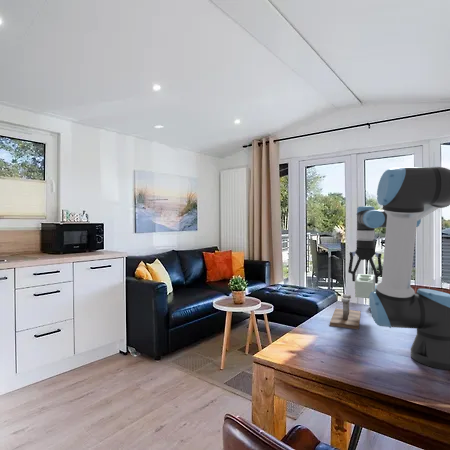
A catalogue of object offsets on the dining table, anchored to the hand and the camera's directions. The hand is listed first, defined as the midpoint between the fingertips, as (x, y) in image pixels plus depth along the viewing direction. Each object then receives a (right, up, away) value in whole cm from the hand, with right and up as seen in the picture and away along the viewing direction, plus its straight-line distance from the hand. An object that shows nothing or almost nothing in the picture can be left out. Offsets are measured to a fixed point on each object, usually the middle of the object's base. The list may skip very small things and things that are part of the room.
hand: (364, 289), depth 149 cm
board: (-7, -15, +4) cm, 17 cm away
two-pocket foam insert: (0, -2, 0) cm, 2 cm away
